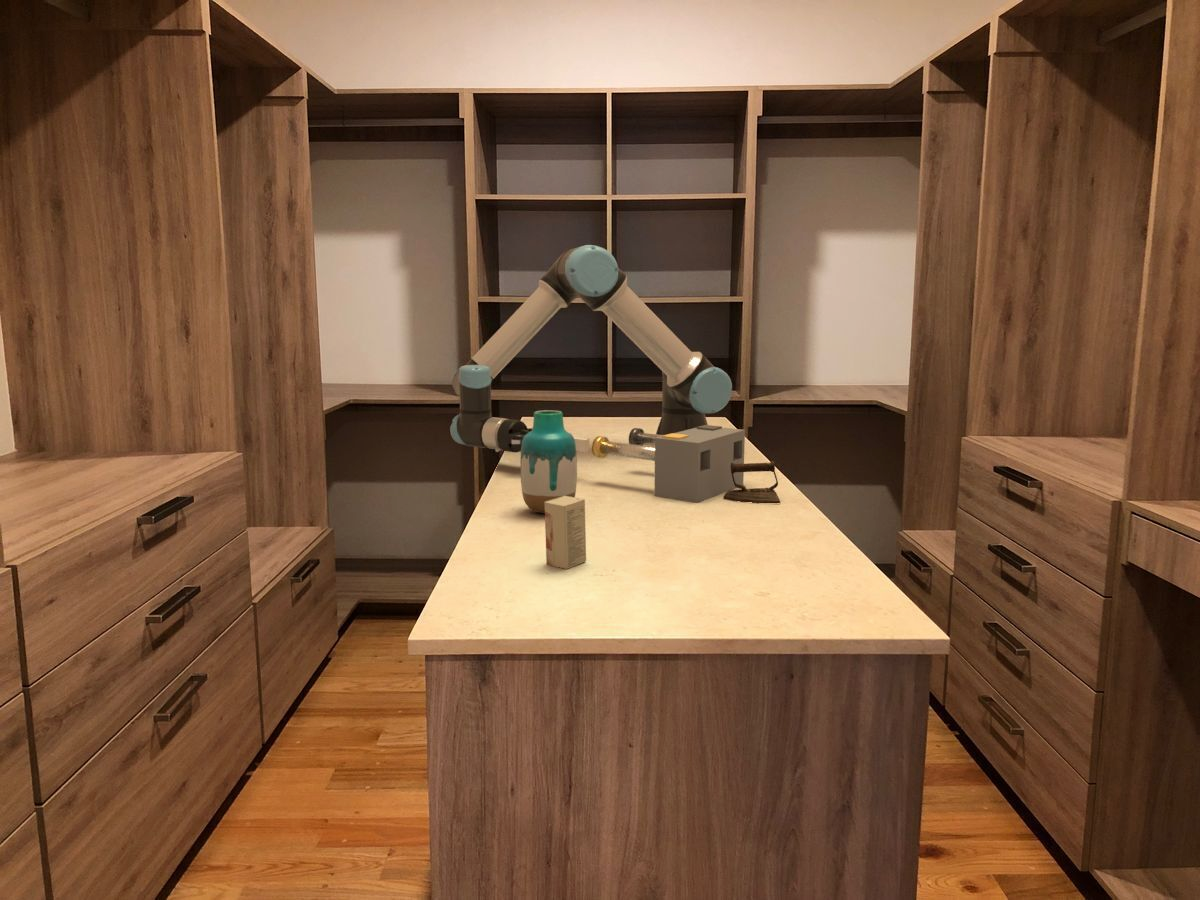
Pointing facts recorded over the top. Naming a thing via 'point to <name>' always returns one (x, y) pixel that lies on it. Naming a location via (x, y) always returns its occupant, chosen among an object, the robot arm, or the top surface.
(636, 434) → the plunger grey
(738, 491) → the clothes iron
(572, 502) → the skincare box
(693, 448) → the console
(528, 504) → the vase
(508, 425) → the robot arm
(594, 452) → the plunger ochre
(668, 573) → the top surface
